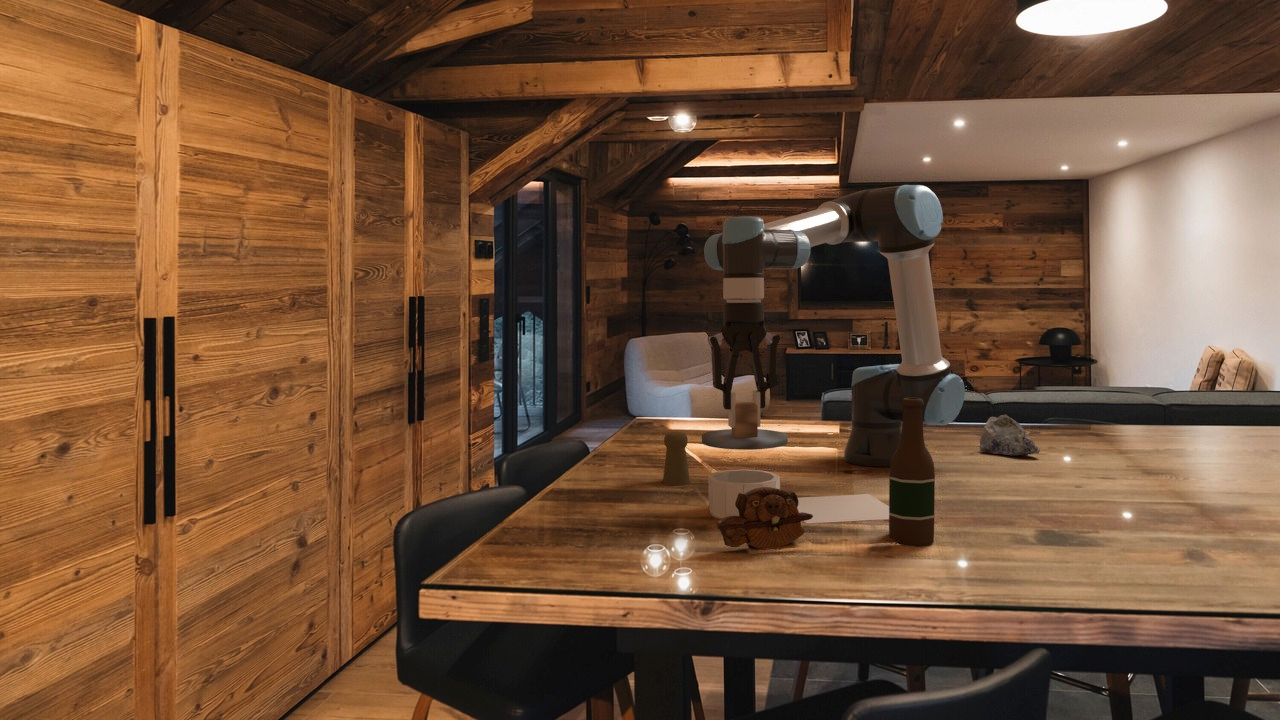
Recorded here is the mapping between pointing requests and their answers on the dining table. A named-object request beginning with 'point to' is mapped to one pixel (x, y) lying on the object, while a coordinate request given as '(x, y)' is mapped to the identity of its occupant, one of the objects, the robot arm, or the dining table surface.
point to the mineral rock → (1006, 438)
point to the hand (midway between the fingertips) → (744, 425)
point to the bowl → (735, 488)
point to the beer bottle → (912, 482)
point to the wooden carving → (764, 519)
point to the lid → (745, 432)
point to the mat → (843, 508)
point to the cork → (676, 459)
